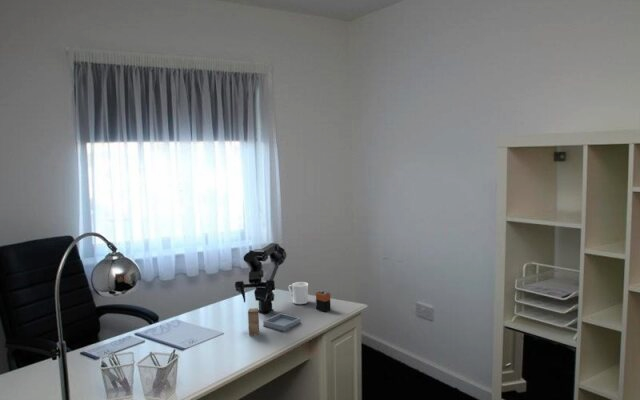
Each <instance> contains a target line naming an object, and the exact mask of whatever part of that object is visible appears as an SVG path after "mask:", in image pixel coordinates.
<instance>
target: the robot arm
mask: <svg viewBox="0 0 640 400" xmlns="http://www.w3.org/2000/svg"><path fill="white" fill-rule="evenodd" d="M269 258H270V262H269V265H268V267H267V271H266V273H265V275H264V270H263V262H266V261H267V260H268V259H269ZM286 258H287V252H286V250H285V249H284V248H283V247H281V246H280V244H279V243H273V242H272V243H271V242H270V243H268V245H266V246H264V247H262V248H256V249H253V250H249V251H248V252H247V253H245V254H244V256H243V260H244V262H245V264H246V265H247V267H248V268H250V270H249V272H248V283H245V281H244V280H236V281H235V282H234V289H235V291H236V292H238V293H240V294H241V296H242V299H243V303H244V304H245V303H246V291H245V289H247V288H248V289H249V288H250V289H251V288H255V289H254V291H253V292H254V299H255V302H256V301H257V302H258V314H264V315H267V314H270V313H272V312H274V311H275V309H273V302H274V301H275V294H274V292H273V291H275V290H276V282H275V276H276V275H277V271H278V270H279V267H280V265H282V264H283V263H284V262H285V260H287V259H286ZM262 278H263V280H262Z"/></svg>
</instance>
